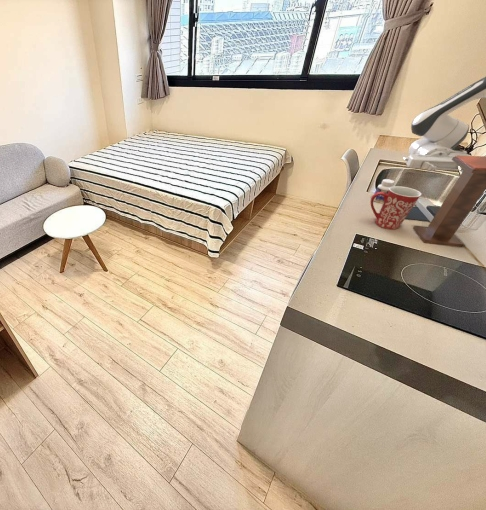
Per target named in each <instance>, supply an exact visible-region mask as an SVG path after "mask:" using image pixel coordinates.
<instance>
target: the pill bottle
mask: <svg viewBox="0 0 486 510" xmlns="http://www.w3.org/2000/svg"><path fill="white" fill-rule="evenodd" d="M394 184H395V180H393V179H388V178H384V179H382V180H381V183H379V184H378V186H377V187H376V189H375V190H374V193H373V195H374V194H375V193H377V192H383V193H386V194H388V191H389V188H390V187H393V186H394ZM373 202H375V203H379V204H383V203H384V197H383V195H378V196H376V197H375V198H374V201H373Z"/></svg>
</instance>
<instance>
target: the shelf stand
mask: <svg viewBox="0 0 486 510" xmlns="http://www.w3.org/2000/svg"><path fill="white" fill-rule="evenodd" d="M452 160H453V161H454V162H456V163H457V164H459V165H460V166H462V167H463V168H465V169H464V170H463V172H461V173H460V175H459V176H458V178H457V180H456V182H455V183H454V185H453V186H452V188H451V189H450V191H449V192H448V194H447V196H446V197H445V199H444V200H443V202H442V203H441V205H440V206H439V207H440V208H439V210H438V212H437V213H436V215H435V216H434V218H433V220H432V221H431V222H430V223H429V224H428V226H423V225H421V226H420V225H414V226H413V228H412V229H413V231H414V232H415V234H416V235H417V236H418V237H419V238H420V240H421V241H422V243H423V244H429V245H439V246H447V247H455V248H463V246H464V245H465V244H464V243H463V241H461V240H460V239H459V238H458V236H456V232H457V231H458V229H459V228H460V227H461V226H462V224H463V222H464V221H465V219H467V216H468V215H469V214H470V213H471V211H472V209H473V208H474V206H475V205H476V204H477V203H478V201H479V200H480V198H481V197H482V196H483V194H484V193H485V191H486V155H483V156H482V155H471V156H460V155H455V157H453V158H452Z"/></svg>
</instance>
